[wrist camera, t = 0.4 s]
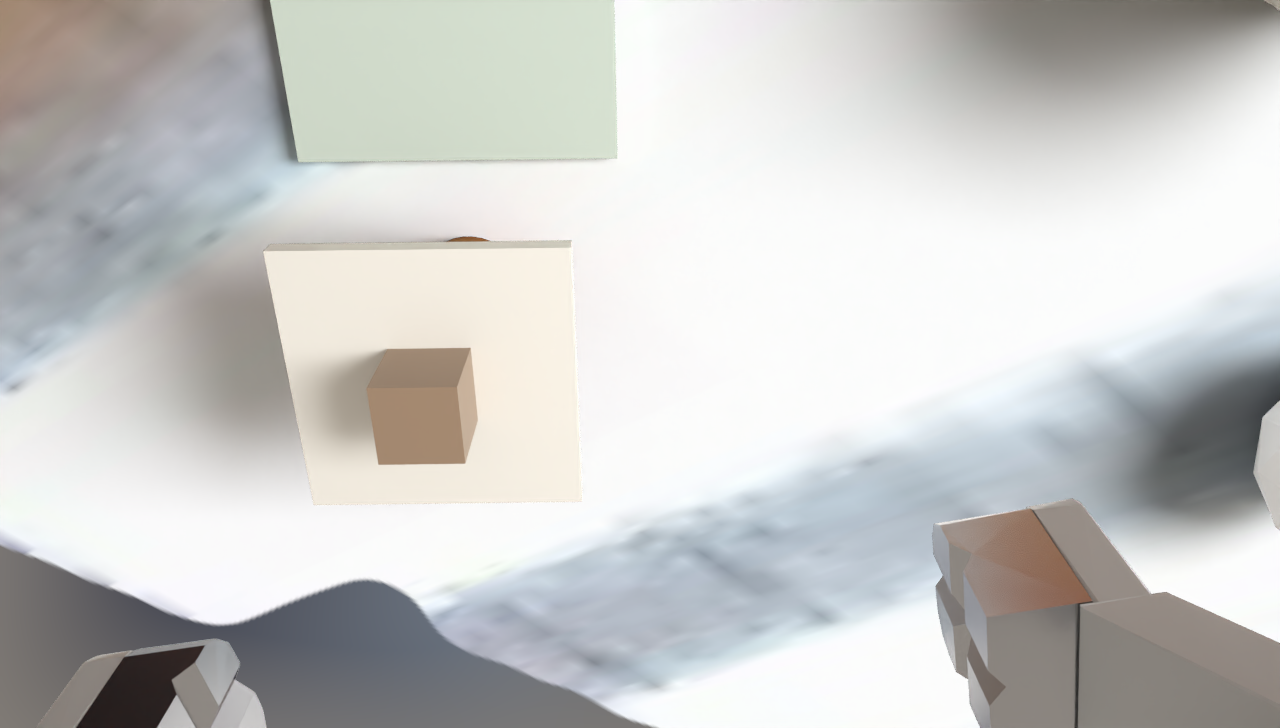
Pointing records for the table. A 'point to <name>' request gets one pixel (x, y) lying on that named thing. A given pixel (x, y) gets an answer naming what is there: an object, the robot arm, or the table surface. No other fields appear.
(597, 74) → the mat
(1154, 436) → the table surface
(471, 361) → the cover
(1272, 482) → the geodesic sphere
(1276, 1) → the canister
